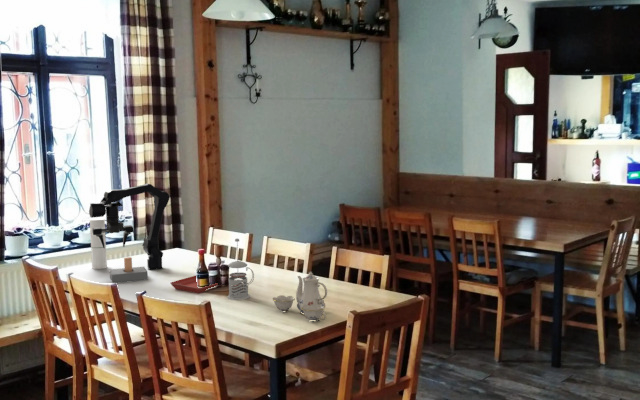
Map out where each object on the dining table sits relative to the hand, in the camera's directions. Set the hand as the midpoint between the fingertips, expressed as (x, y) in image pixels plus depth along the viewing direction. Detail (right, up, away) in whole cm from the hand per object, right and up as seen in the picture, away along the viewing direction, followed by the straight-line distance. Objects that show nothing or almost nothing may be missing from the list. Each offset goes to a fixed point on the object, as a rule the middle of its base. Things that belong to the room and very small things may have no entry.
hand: (113, 247), depth 327 cm
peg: (+10, -14, -9) cm, 20 cm away
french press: (+67, -18, -44) cm, 82 cm away
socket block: (+10, -14, -9) cm, 20 cm away
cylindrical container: (-12, -12, +16) cm, 23 cm away
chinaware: (+95, -21, -70) cm, 119 cm away
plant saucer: (+46, -17, -27) cm, 56 cm away
